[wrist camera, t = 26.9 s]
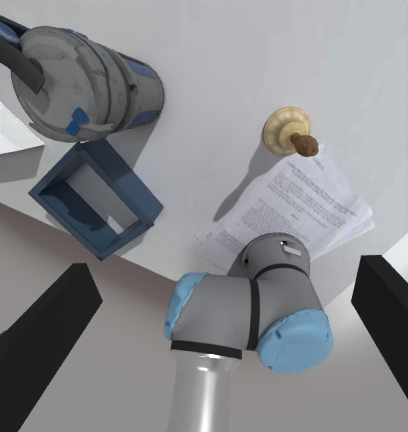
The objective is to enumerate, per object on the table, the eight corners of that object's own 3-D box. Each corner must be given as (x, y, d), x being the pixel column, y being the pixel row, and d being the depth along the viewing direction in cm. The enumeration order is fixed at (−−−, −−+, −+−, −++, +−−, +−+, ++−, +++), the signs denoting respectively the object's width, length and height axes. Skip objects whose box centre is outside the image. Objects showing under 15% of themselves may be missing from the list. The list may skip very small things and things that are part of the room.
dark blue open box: (165, 207, 51) (153, 225, 44) (118, 239, 57) (100, 261, 49) (103, 135, 45) (77, 141, 38) (58, 179, 51) (27, 193, 44)
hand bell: (314, 145, 42) (356, 167, 28) (270, 161, 44) (287, 190, 30) (304, 98, 39) (345, 97, 24) (257, 119, 41) (269, 128, 27)
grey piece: (124, 33, 37) (-35, -64, 15) (180, 99, 41) (116, 97, 19) (91, 82, 41) (-74, 60, 19) (145, 138, 45) (58, 175, 23)
